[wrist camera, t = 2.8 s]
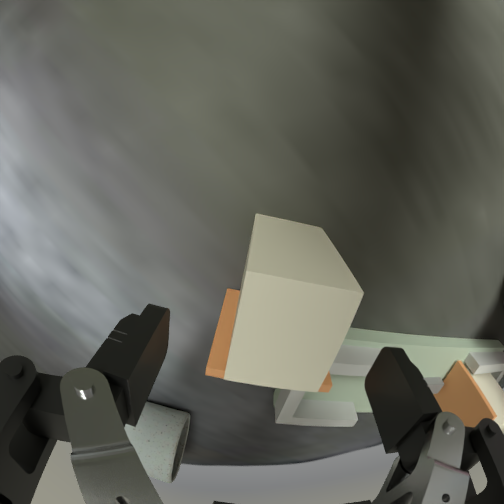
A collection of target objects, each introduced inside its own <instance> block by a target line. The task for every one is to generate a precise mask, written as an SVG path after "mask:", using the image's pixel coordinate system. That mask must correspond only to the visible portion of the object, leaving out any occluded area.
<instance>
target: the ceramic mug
mask: <svg viewBox="0 0 504 504" xmlns="http://www.w3.org/2000/svg"><path fill="white" fill-rule="evenodd" d="M189 425H190V414H189V413H187V412H183V411H179V410H175V409H172V408H168V407H165V406H161V405H158V404H154V403H150V402H147V401H146V403H145V406H144V408H143V411H142V413H141V416H140V418H139V420H138V423H137V425H136V427H134V426H131V425H128V424H126V425H125V427H124V429H125V431H126V434H127V436H128V438H129V441H130V443H131V444H132V445H133V446H134V448H135V450H136V452H137V454H138V456H139V459H140V461H141V463H142V465H143V467H144V469H145V471H146V473H147V475H148V476H151V477H153V478H156V479H159V480H162V481H164V482H167V483H172V482H173V481H174V479H175V478H176V475H177V473H178V470H179V467H180V464H181V461H182V457H183V453H184V449H185V445H186V441H187V436H188V432H189Z"/></svg>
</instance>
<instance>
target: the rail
mask: <svg viewBox="0 0 504 504" xmlns="http://www.w3.org/2000/svg"><path fill="white" fill-rule="evenodd" d="M383 347H398V348H403V349H404V351H405V353H406V354H407V356H408V358H409V359H410V361H411V362H412V363H413V364H414V365H415V366H416V367H417V368H418V369H419V370H420V372H421V374H422V375H423V377H424V380H425V381H426V382H427V384H428V387H429V388H430V389H431V391H432V393H433V395H434V397H435V399H436V400H437V402H438V404H439V406H440V408H441V410H442V412H451V413H453V414H455V415H457V416H458V417H459V418H460V419H461V420H462V422H463V424H464V426H467V427H475V426H476V425H477V424H478V423H479V422H480V421H481V420H482V419H484V418H489V419H492V420H494V421H495V422H496V423H497V424H498V425H499V427H500V429H501V430H502V432H503V434H504V391H503V390H502V388H501V387H500V386H499V384H498V382H499V381H500V379H501V378H502V377H503V375H504V352H503V350H504V346H503V345H502V344H501V342H500V341H499V340H489V339H466V338H449V337H435V336H423V335H412V334H402V333H392V332H383V331H374V330H366V329H358V328H351V327H350V328H349V330H348V332H347V334H346V336H345V339H344V341H343V343H342V345H341V347H340V349H339V351H338V353H337V355H336V357H335V359H334V362H333V364H332V366H331V367H330V369H329V372H330V376H331V381H332V385H333V386H332V387H331V389H330V391H329V393H328V392H308V391H298V390H289V389H280V388H276V389H275V391H274V394H273V407H275V423H279V424H290V425H304V426H328V427H353V426H354V424H355V423H356V422H357V421H358V417H357V414H356V412H373V411H372V409H371V406H370V403H369V400H368V397H367V394H366V391H365V386H364V384H365V378H366V376H367V374H368V372H369V370H370V369H371V367H372V365H373V363H374V362H375V360H376V358H377V356H378V354H379V353H380V351H381V349H382V348H383Z"/></svg>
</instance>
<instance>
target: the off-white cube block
mask: <svg viewBox="0 0 504 504" xmlns="http://www.w3.org/2000/svg"><path fill="white" fill-rule="evenodd" d="M363 294H364V292H363V290H362V289H361V287H360V286H359V284H358V282H357V281H356V279H355V277H354V276H353V274H352V273H351V271H350V270H349V268H348V266H347V265H346V263H345V262H344V260H343V259H342V257H341V256H340V254H339V253H338V251H337V249H336V248H335V246H334V245H333V243H332V242H331V240H330V239H329V237H328V236H327V235H326V233H325V232H324V230H323V229H322V228H321V227H316V226H312V225H307V224H303V223H299V222H294V221H289V220H285V219H280V218H276V217H271V216H266V215H261V214H257V213H256V215H255V220H254V225H253V230H252V234H251V239H250V244H249V249H248V254H247V258H246V263H245V268H244V273H243V278H242V283H241V287H240V291H239V290H234V289H229V288H227V292H226V295H225V299H224V303H223V306H222V310H221V314H220V318H219V321H218V325H217V329H216V332H215V336H214V340H213V344H212V348H211V351H210V355H209V359H208V363H207V367H206V373H205V375H208V376H213V377H218V378H223V379H225V380H230V381H235V382H241V383H246V384H253V385H259V386H266V387H273V388H280V389H289V390H298V391H308V392H328V393H329V391H330V389H331V387H332V386H333V385H332V381H331V376H330V372H329V369H330V367H331V366H332V364H333V362H334V359H335V357H336V355H337V353H338V351H339V349H340V347H341V345H342V343H343V341H344V339H345V336H346V334H347V332H348V330H349V328H350V325H351V323H352V321H353V318H354V316H355V314H356V311H357V309H358V307H359V304H360V302H361V299H362V297H363Z"/></svg>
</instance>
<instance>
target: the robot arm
mask: <svg viewBox="0 0 504 504" xmlns="http://www.w3.org/2000/svg"><path fill="white" fill-rule="evenodd" d="M169 321H170V310H169V309H168V308H164V307H160V306H156V305H153V304H148V305H147V306H146V308H145V309H144V310H143V312H142V313H141V315H140V316H139V315H136V314H130V315H128V316H127V317H125V318H123V319H121V320H120V321H119V323H118V324H117V325H116V327H115V328H114V330H113V331H112V332H111V333H110V335H109V336H108V339H106V340H105V341H104V343H103V344H102V345H101V347H100V348H99V349H98V351H97V352H96V354H95V355H94V356H93V358H92V359H91V361H90V362H89V363H88V365H87V366H86V367H83V368H76V369H73V370H71V371H69V372H67V373H66V374H65V375H64V376H63V377H62V376H54V375H49V374H43V373H38V372H37V371H36V368H35V366H34V364H33V362H32V361H31V360H30V359H28V358H26V357H24V356H18V355H17V356H10V357H7V358H5V359H4V360H3V361H1V362H0V504H30V503H31V501H32V498H33V496H34V493H35V490H36V488H37V485H38V483H39V480H40V478H41V475H42V473H43V471H44V468H45V466H46V463H47V461H48V459H49V457H50V455H51V452H52V450H53V448H54V446H55V444H56V442H57V440H60V441H66V442H71V445H72V451H73V452H72V453H71V461H72V465H73V469H74V472H75V475H76V478H77V481H78V484H79V487H80V490H81V493H82V495H83V498H84V501H85V503H86V504H163V502H162V501H161V499H160V497H159V495H158V493H157V492H156V490H155V488H154V486H153V484H152V483H151V481H150V479H149V477H148V475H147V473H146V471H145V469H144V467H143V465H142V463H141V461H140V459H139V456H138V454H137V452H136V450H135V448H134V446H133V445H132V444H131V443H130V441H129V438H128V436H127V434H126V431H125V429H124V427H125V425H126V424H128V425H131V426H134V427H136V425H137V423H138V420H139V418H140V416H141V413H142V411H143V408H144V406H145V403H146V401H147V399H148V396H149V394H150V392H151V389H152V387H153V385H154V382H155V380H156V378H157V375H158V373H159V371H160V368H161V366H162V364H163V361H164V359H165V356H166V353H167V348H168V339H169ZM364 386H365V391H366V394H367V397H368V400H369V403H370V406H371V409H372V411H373V414H374V417H375V420H376V423H377V426H378V430H379V433H380V436H381V439H382V442H383V445H384V449H385V452H386V454H387V453H395V452H398V453H399V456H398V457H397V458H396V459H395V460H394V463H393V465H392V467H391V470H390V472H389V474H388V476H387V478H386V480H385V482H384V484H383V486H382V488H381V490H380V492H379V494H378V496H377V497H376V499H375V500H374V501H373V502H372V503H371V501H370V500H368V501H361V502H354V503H346V504H504V434H503V432H502V430H501V429H500V427H499V425H498V424H497V423H496V422H495V421H494V420H492V419H489V418H484V419H482V420H481V421H480V422H479V423H478V424H477V425H476V426H475V427H467V426H464V424H463V422H462V420H461V419H460V418H459V417H458V416H457V415H455V414H453V413H451V412H442V410H441V408H440V406H439V404H438V402H437V400H436V399H435V397H434V395H433V393H432V391H431V389H430V388H429V387H428V384H427V382H426V381H425V380H424V377H423V375H422V374H421V372H420V370H419V369H418V368H417V367H416V366H415V365H414V364H413V363H412V362H411V361H410V359H409V358H408V356H407V354H406V353H405V351H404V349H403V348H398V347H383V348H382V349H381V351H380V353H379V354H378V356H377V358H376V360H375V362H374V363H373V365H372V367H371V369H370V370H369V372H368V374H367V376H366V378H365V384H364ZM479 461H480V462H481V464H482V467H483V470H484V472H485V475H486V477H487V486H486V488H485V489H484V490H483V491H482V492H481V493H479V494H478V495H477V494H476V491H475V489H474V486H473V482H472V480H471V477H470V474H469V471H468V470H469V469H471V468H472V467H473V466H474V465H475V464H476V463H478V462H479ZM213 504H232V503H225V502H218V501H214V502H213Z"/></svg>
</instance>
